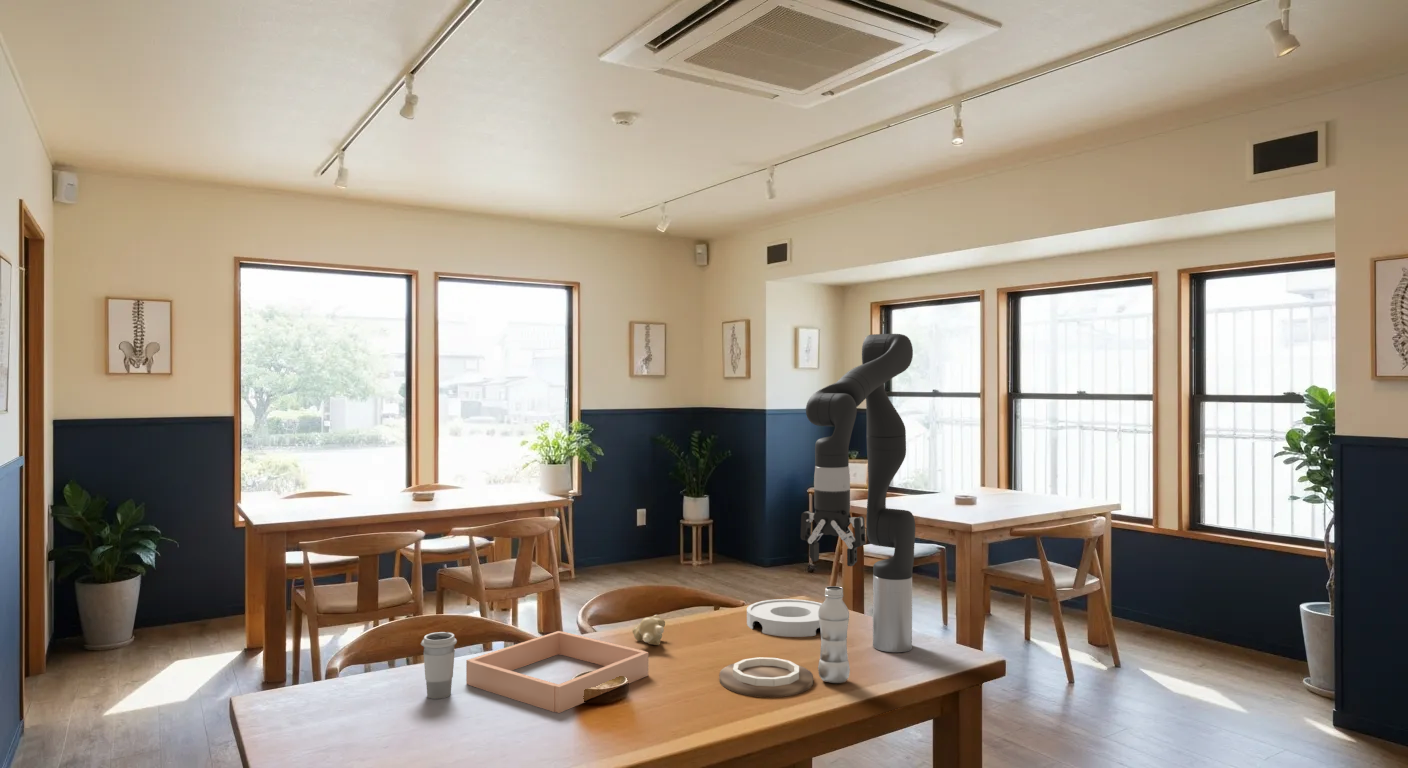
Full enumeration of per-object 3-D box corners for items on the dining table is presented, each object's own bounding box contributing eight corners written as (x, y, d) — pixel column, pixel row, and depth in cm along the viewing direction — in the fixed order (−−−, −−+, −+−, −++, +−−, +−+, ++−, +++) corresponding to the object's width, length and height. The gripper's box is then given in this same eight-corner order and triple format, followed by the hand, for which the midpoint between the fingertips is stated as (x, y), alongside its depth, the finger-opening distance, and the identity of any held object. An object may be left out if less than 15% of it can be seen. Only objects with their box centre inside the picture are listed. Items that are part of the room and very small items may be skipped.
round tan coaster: (752, 659, 205) (752, 654, 205) (829, 677, 193) (829, 671, 193) (700, 683, 189) (700, 678, 189) (782, 704, 177) (782, 698, 177)
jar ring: (756, 660, 201) (756, 653, 201) (810, 672, 193) (810, 665, 193) (720, 677, 190) (720, 670, 190) (777, 690, 181) (777, 683, 181)
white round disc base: (741, 635, 225) (741, 619, 225) (751, 611, 248) (751, 597, 248) (834, 640, 222) (834, 624, 222) (835, 615, 244) (835, 601, 244)
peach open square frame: (559, 651, 210) (559, 630, 210) (648, 675, 194) (649, 652, 194) (465, 684, 188) (465, 660, 188) (558, 713, 172) (558, 687, 172)
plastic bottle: (849, 687, 187) (849, 592, 187) (816, 685, 188) (817, 590, 188) (850, 677, 193) (850, 585, 193) (818, 675, 194) (819, 583, 194)
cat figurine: (661, 612, 223) (664, 611, 212) (670, 640, 222) (673, 640, 210) (630, 623, 222) (630, 622, 210) (638, 651, 220) (639, 652, 209)
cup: (463, 691, 184) (463, 633, 184) (444, 702, 178) (444, 642, 177) (434, 687, 186) (434, 630, 186) (414, 698, 180) (414, 638, 180)
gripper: (870, 487, 188) (871, 563, 189) (811, 482, 196) (811, 555, 197) (854, 492, 182) (855, 571, 183) (793, 486, 190) (794, 562, 191)
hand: (832, 563), depth 190 cm, fingers open, 8 cm apart
